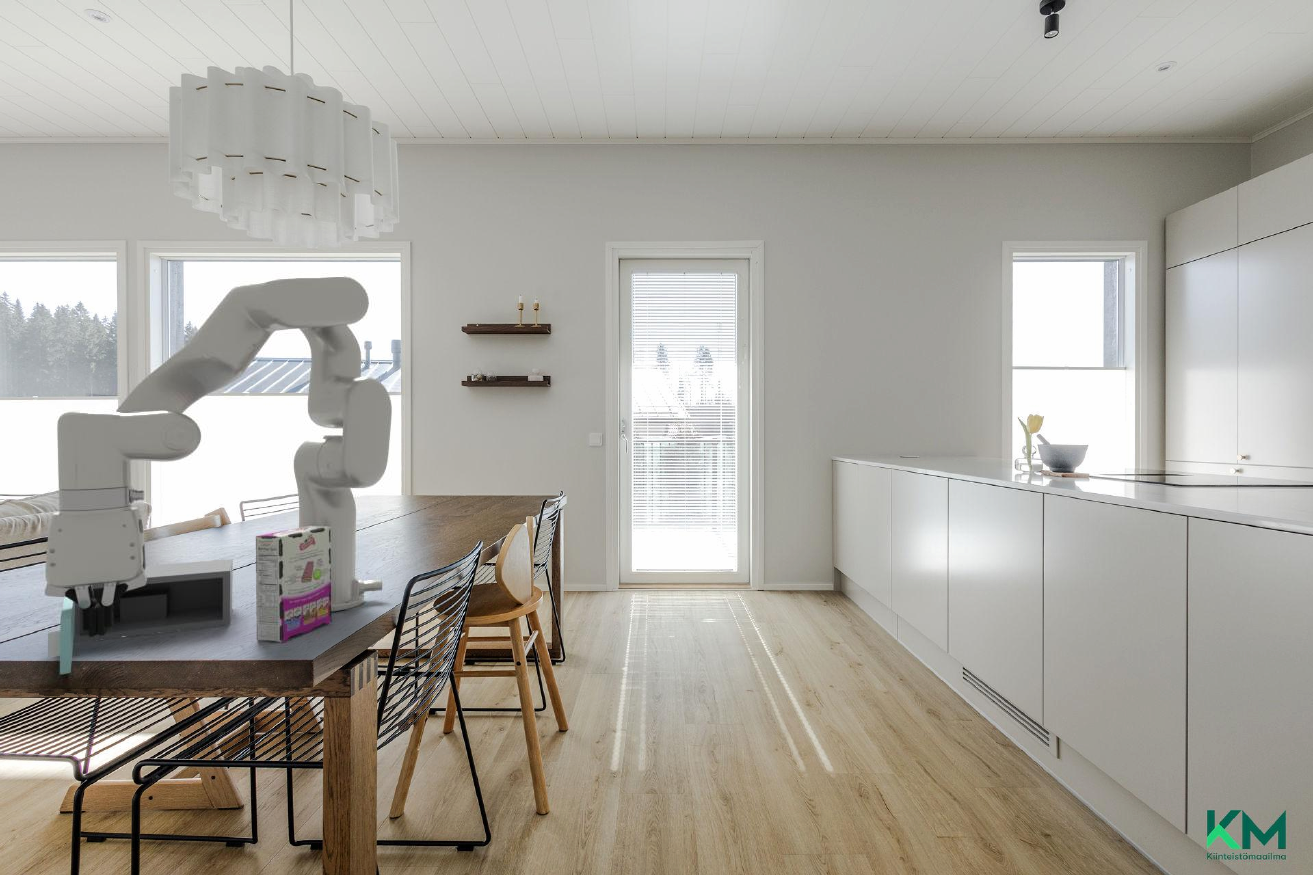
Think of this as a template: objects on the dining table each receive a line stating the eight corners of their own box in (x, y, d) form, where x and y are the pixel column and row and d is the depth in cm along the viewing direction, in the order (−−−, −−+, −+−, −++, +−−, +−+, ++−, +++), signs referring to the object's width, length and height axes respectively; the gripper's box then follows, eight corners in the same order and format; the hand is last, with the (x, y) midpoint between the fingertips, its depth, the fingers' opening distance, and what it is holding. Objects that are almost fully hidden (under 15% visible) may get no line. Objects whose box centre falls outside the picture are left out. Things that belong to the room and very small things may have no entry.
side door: (71, 672, 83) (72, 617, 83) (46, 676, 81) (47, 620, 81) (74, 637, 97) (75, 590, 97) (53, 640, 96) (54, 592, 96)
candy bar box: (306, 621, 110) (307, 525, 110) (332, 623, 109) (333, 526, 109) (253, 641, 99) (254, 534, 99) (281, 644, 98) (282, 535, 98)
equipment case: (232, 608, 118) (232, 559, 118) (229, 624, 108) (230, 570, 108) (88, 624, 108) (88, 569, 108) (70, 643, 97) (71, 583, 97)
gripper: (167, 495, 96) (169, 618, 96) (30, 501, 88) (33, 635, 89) (160, 500, 90) (163, 631, 90) (12, 507, 82) (16, 651, 82)
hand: (98, 633), depth 89 cm, fingers closed
